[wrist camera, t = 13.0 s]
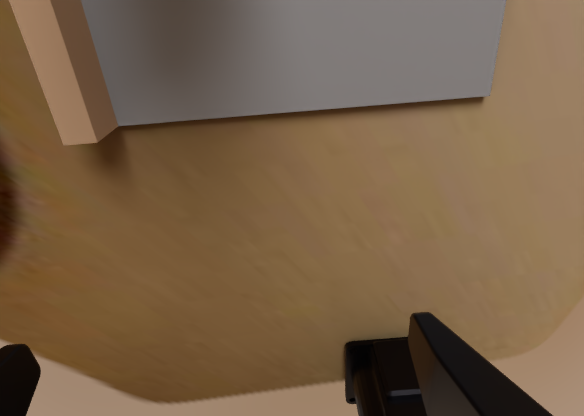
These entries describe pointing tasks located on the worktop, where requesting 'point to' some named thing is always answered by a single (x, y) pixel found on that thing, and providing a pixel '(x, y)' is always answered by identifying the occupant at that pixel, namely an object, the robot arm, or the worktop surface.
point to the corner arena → (250, 57)
